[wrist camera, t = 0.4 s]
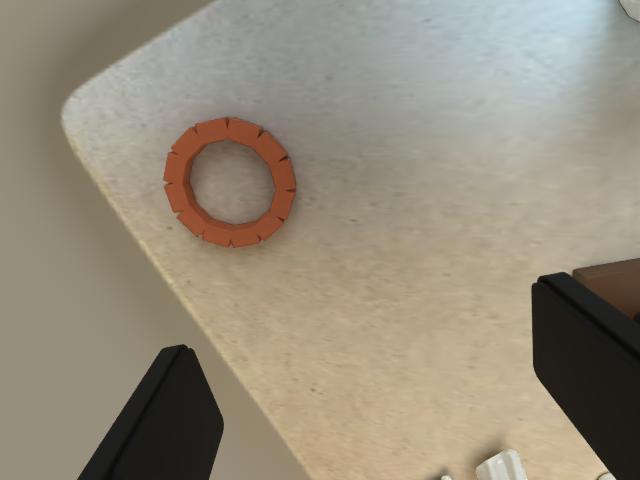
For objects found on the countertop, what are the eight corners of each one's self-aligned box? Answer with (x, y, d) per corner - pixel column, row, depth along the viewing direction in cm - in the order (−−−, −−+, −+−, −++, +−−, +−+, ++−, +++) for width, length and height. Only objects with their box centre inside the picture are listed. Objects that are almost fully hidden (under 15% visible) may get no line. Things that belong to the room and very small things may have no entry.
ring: (153, 133, 24) (144, 135, 23) (278, 106, 24) (275, 106, 22) (194, 249, 27) (188, 256, 26) (306, 228, 27) (305, 234, 25)
